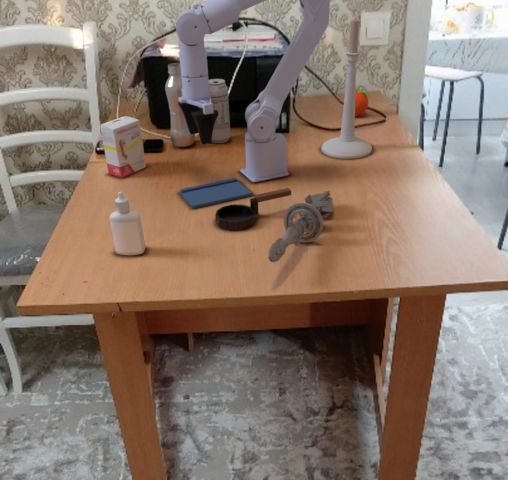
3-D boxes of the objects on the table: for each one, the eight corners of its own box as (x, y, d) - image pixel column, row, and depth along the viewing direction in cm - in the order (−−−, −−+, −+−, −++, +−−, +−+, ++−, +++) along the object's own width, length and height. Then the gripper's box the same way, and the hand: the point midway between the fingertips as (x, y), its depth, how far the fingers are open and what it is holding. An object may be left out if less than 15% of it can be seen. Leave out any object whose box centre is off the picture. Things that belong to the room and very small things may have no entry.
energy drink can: (229, 135, 163) (226, 77, 154) (231, 142, 159) (228, 83, 149) (207, 137, 163) (203, 79, 153) (209, 144, 158) (204, 85, 149)
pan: (225, 233, 118) (223, 212, 115) (210, 217, 124) (209, 197, 121) (298, 216, 123) (298, 196, 120) (281, 202, 129) (281, 182, 126)
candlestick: (331, 138, 159) (338, 11, 140) (378, 144, 154) (391, 14, 135) (313, 154, 150) (318, 21, 131) (362, 161, 145) (373, 24, 127)
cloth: (236, 181, 138) (235, 177, 138) (251, 195, 132) (251, 191, 131) (179, 193, 134) (179, 188, 134) (192, 208, 128) (192, 204, 127)
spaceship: (241, 241, 99) (283, 231, 95) (306, 182, 126) (340, 172, 122) (257, 284, 102) (298, 275, 98) (317, 217, 129) (351, 208, 125)
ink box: (121, 178, 142) (112, 128, 134) (107, 174, 144) (98, 125, 137) (147, 167, 147) (140, 118, 140) (133, 163, 150) (125, 115, 142)
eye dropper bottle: (134, 260, 111) (123, 200, 104) (112, 252, 114) (100, 193, 106) (149, 250, 114) (139, 191, 107) (127, 243, 117) (116, 185, 109)
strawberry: (373, 113, 174) (375, 87, 170) (368, 120, 169) (370, 94, 165) (346, 111, 177) (348, 85, 172) (340, 118, 172) (342, 92, 167)
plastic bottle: (167, 148, 157) (156, 67, 144) (178, 139, 162) (170, 60, 149) (188, 151, 155) (180, 68, 142) (200, 142, 160) (192, 62, 147)
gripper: (166, 69, 130) (173, 131, 139) (188, 85, 120) (194, 151, 128) (196, 65, 133) (201, 126, 141) (220, 80, 122) (224, 145, 131)
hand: (200, 138), depth 135 cm, fingers open, 7 cm apart
